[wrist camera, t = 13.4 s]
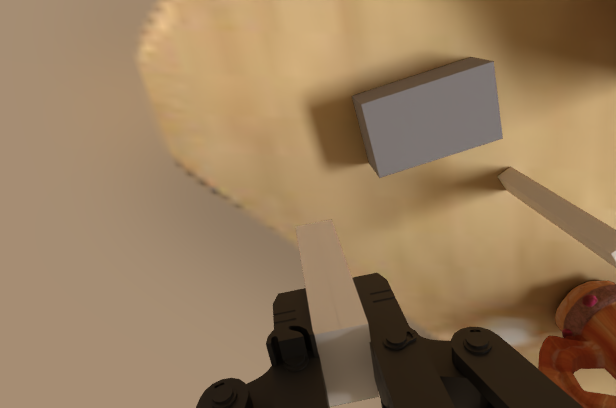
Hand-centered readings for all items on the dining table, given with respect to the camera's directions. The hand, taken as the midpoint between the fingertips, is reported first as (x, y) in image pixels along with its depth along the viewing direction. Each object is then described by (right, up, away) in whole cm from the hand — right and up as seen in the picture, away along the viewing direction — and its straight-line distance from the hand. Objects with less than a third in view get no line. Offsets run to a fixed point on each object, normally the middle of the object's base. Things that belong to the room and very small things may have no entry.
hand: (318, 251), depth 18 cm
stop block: (+9, +10, +18) cm, 23 cm away
